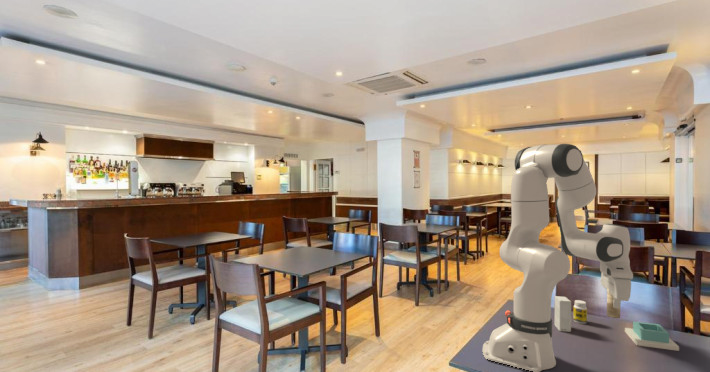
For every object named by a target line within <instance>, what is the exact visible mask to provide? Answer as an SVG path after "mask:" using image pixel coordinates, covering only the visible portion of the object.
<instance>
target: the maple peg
mask: <svg viewBox="0 0 710 372" xmlns="http://www.w3.org/2000/svg"><path fill="white" fill-rule="evenodd" d="M613 300H614V298H613V295H611V294H610V293H609V289H608V288H607V290H606V316H607V317H608V318H612V319H620V318H621V307H620V308H614V307H613ZM621 302H622V301H621ZM621 302H620V305H621Z"/></svg>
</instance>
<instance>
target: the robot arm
mask: <svg viewBox="0 0 710 372" xmlns="http://www.w3.org/2000/svg"><path fill="white" fill-rule="evenodd" d="M514 168H515V171H514V172H513V174H512V180H511V186H510V187H511V188H510V203H511V204H510V207H511V209H510V210H511V211H510V212H511V224H510V229H509V233H508V236H507V238H506V240H504V241H503V242H502V243H501V245H500V247H499V257H500V259H501V261H503V263H504V264H506V265H507V266H508V267H510V268H511V269H513V270H516V271H518V272H520V273H522V274H523V281H522V283H521V285H519V286H517V287H516V288H515V289H514V291H513V311H512V312H511V311H510V310H506V311H505V312H504V313H505V315H504V316H505V317H506V323H504V324H503V325H500V326H499V327H497V328H494V329H493V331H492V332H491V333H490V336H489V340H486V341H484V343H483V344H482V350H481V351H482V352H483V353H482V352H481V353H482V355H484V356H483V357H484V358H485V359H486V360H487V359H488V360H491V361H495V362H499V363H503V364H507V365H510V366H509V367H511V366H513V367H512V368H515V367H517V368H516V369H519V368H522V369H521V370H523V369H525V370H524V371H526V370H529V371H528V372H530V371H533V372H541V371H543V370H549V369H553V368H554V367H556V365H557V360H556V358H555V357H556V356H555V353H554V349H553V340H552V337H553V330H554V329H553V326H554V325H553V324H554V323H553V320H552V316H551V315H552V312H551V311H552V296H553V292H554V290H555V287H557V284H558V283H559V282H561V281H563V280H564V279H566V278H567V276H568V275H569V273H570V270H571V261H570V258H569V256H570V257H574V258H582V259H587V260H589V261H597V262H599V271H600V273H601V274H600V285H601V286H602V287H603V288H604V289H605V290H606V291H607V288H608V289H609V293H610V294H611V295H613V298H614V300H613V307H614V308H620V309H621V304H620V302H622V301H623V302H624V301H625V302H628V301H629V300H630V298H631V291H632V290H631V289H632V280H633V279H634V273H633V271H632V269H631V265H630V264H631V262H630V256H629V255H630V251H631V236H630V231H629V228H628V227H626V226H624V225H620V224H613V223H604V224H603V225H602V229H601V230H600V231H597V232H596V233H593V232H586V231H582V230H581V229H579V228H578V226H577V220H576V216H575V215H576V214H575V211H576V210H579V209H581V208H584V207H585V206H588V205H589V204H591V202H593V201H594V199H595V198H596V195H597V188H596V187H597V186H596V183H595V180H594V179H593V176H592V175H593V174H592V173H591V170H590V169H589V166H588V165H587V163H586V161H585V160H584V155H583V152H582V151H581V150H580V149H579V148H578V147H577V146H576V145H574V144H570V143H560V144H540V145H535V146H527V147H524V148H522V149H520V150H519V151H518V152H517V153H516V155H515V159H514ZM551 178H552V179H554V182H555V186H556V188H557V191H558V196H557V197H556V199H555V211H556V216H557V221H558V226H559V231H560V245H561V248H562V250H563V251H562V250H560V249H558V248H556V247H554V246H552V245H549V244H545V243H542V242H541V243H540V235H541V233H542V231H543V230H544V229H545V228H547V227H548V225H549V224H550V209H549V208H550V205H549V204H550V203H549V192H548V185H547V181H548V179H551ZM488 360H487V361H488ZM491 361H490V362H491ZM495 362H494V363H495ZM499 363H498V364H499ZM503 364H502V365H503ZM507 365H506V366H507Z"/></svg>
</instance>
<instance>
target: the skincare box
mask: <svg viewBox="0 0 710 372" xmlns="http://www.w3.org/2000/svg"><path fill="white" fill-rule="evenodd" d="M554 326H555V328H556V329H557V331H560V332H568V333H572V301H571V300H570V299H568V297H566V296H557V295H555V296H554Z"/></svg>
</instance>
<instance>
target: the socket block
mask: <svg viewBox="0 0 710 372" xmlns="http://www.w3.org/2000/svg"><path fill="white" fill-rule="evenodd" d="M624 333H626V335H627V336H628V338H630V339H631V341H632V342H633V343H634V344H635V345H636V346H639V347H645V348H656V349H662V350H669V351H677V352H679V351H680V346H679V345H678V344H677V343H676V342H675V341H673V339H672V338H670V332H669V331H667V329H665V328H664V327H663V326H662V325H661V324H658V323H650V322H642V321H632V328H631V327H624Z"/></svg>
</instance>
